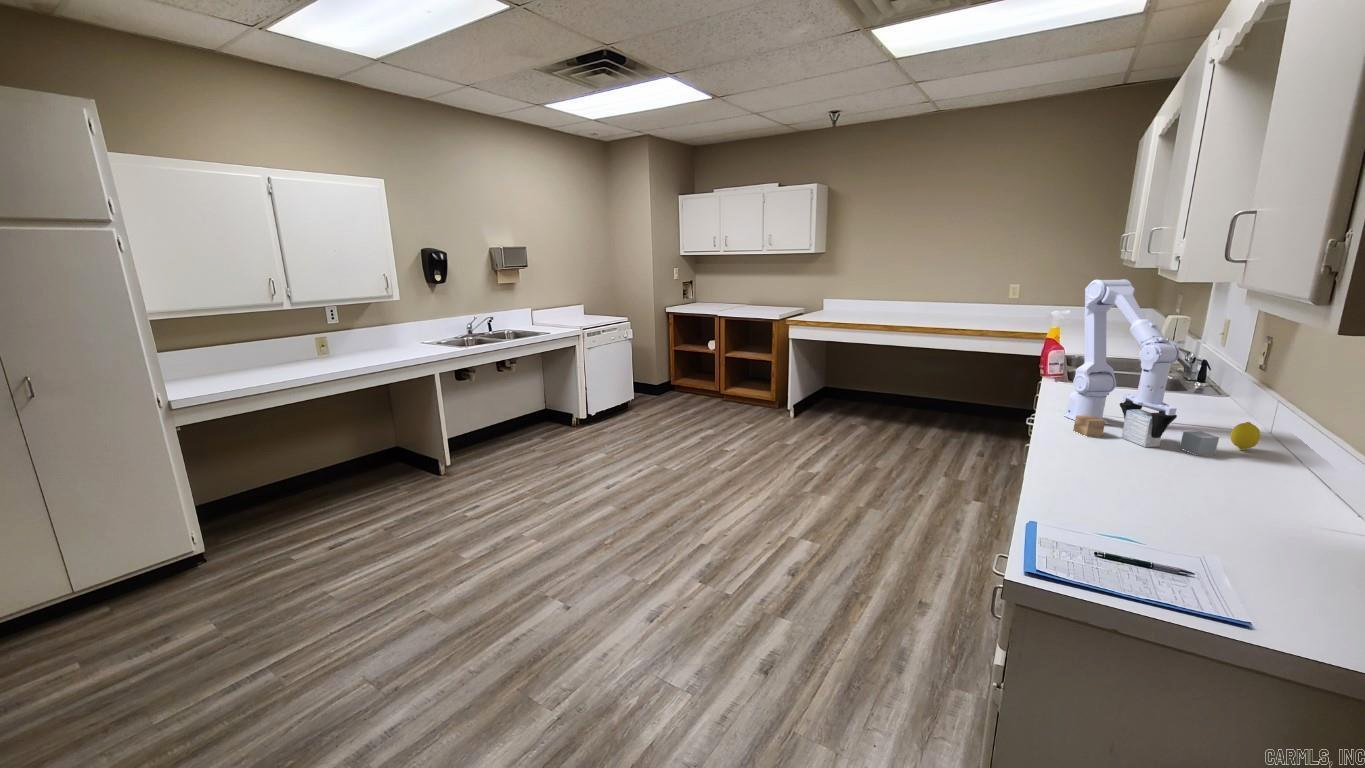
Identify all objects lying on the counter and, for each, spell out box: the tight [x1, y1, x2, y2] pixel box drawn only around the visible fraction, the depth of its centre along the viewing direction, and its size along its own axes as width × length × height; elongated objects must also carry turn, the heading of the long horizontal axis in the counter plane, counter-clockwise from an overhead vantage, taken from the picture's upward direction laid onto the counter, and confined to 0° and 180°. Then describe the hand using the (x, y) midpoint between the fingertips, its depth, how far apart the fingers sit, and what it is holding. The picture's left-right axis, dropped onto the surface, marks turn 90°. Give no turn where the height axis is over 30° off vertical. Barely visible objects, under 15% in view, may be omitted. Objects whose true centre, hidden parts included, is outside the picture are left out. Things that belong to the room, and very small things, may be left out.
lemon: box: [1230, 421, 1261, 451], centre depth 148 cm, size 6×6×8 cm
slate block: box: [1179, 430, 1220, 456], centre depth 148 cm, size 5×5×5 cm
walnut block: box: [1072, 415, 1106, 437], centre depth 162 cm, size 5×5×5 cm
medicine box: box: [1121, 408, 1162, 448], centre depth 154 cm, size 8×4×9 cm, turn 3°
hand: (1142, 432), depth 154 cm, fingers closed on medicine box, 7 cm apart
